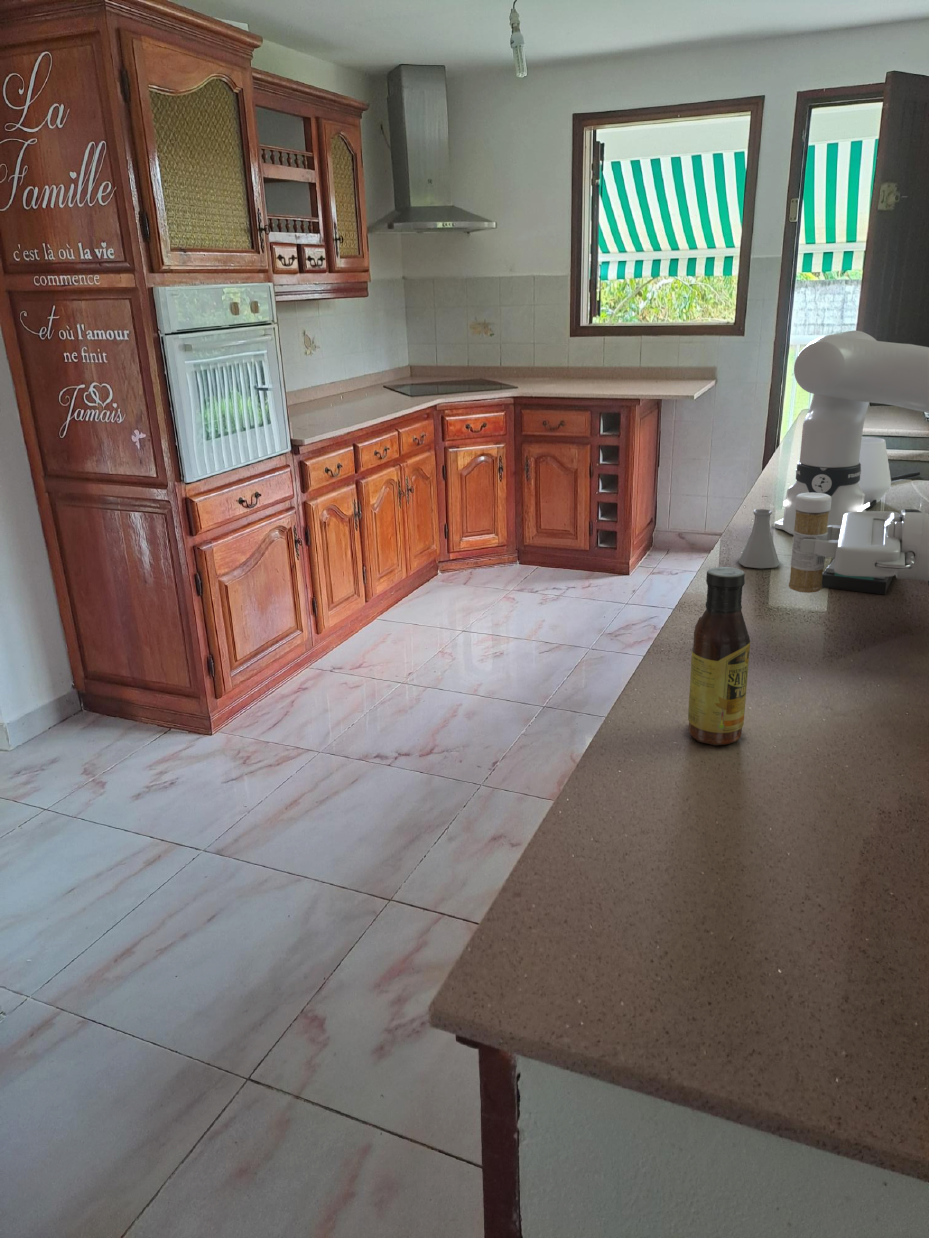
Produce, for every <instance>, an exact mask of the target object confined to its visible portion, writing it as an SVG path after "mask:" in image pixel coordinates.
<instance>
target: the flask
mask: <svg viewBox="0 0 929 1238" xmlns="http://www.w3.org/2000/svg"><path fill="white" fill-rule="evenodd" d="M772 513H773V511H772V510H770V509H765V508H758V509H754V510H753V512H752V514H753V515H754V521H753V525H752V526H753V527H752V528H751V532H750V534H749V537H748V538H747V539H748V540H747V541H746V544H745V546H744V549H743V551H742V553H741V555H740V557H739V559H738V563H739V564H740V565H742V566H743V567H744V568H745V567H746V568H754V569H771V568H777V567H778V565H779V564H780V561H779V556H778V554H777V551H776V546H775V544H774V540H773V536H772V532H771V524H770V523H771V522H770V520H771V515H772Z"/></svg>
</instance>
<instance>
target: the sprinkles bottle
mask: <svg viewBox="0 0 929 1238" xmlns="http://www.w3.org/2000/svg"><path fill="white" fill-rule="evenodd" d="M795 509H796V510H795V511H796V516H795V526H794V535H792V536H793V537H792V544H791V554H790V555H791V556H790V573H789V581H788V588H789V589H791V590H792V591H795V592H799V593H803V594H804V593H807V594H810V593H812V594H813V593H818V592H820V591H822V589H823V587H822V576H823V572H824V568H825V562H826V561H825V560H826V557H823V556H820V555H817V554H814V553H804V552H801V550H800V547H801V541H802V539H803V538H804V537H808V538H816V539H818V540H825V541H827V527H828V515H829V512H830V511H829V510H830V509H831V496H829V495H827V494H823V493H802V494H798V495H797V496H796V501H795Z"/></svg>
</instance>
